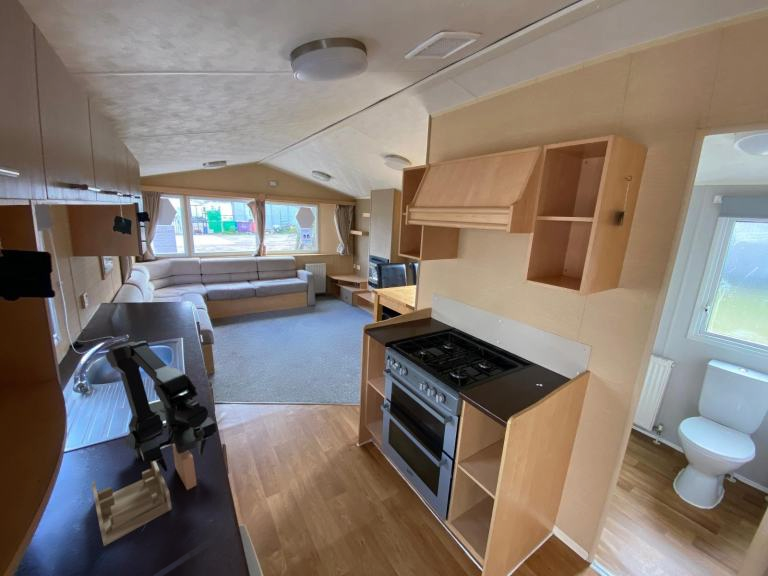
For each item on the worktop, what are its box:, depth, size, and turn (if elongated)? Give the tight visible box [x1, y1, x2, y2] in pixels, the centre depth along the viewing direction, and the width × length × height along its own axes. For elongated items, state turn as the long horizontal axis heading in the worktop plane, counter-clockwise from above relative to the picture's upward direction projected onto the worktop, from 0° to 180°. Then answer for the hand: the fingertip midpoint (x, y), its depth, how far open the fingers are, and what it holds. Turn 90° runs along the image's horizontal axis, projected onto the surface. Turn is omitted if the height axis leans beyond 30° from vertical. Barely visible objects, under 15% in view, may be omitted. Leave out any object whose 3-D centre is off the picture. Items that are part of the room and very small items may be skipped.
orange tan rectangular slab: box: [171, 444, 197, 491], centre depth 96 cm, size 2×12×10 cm, turn 46°
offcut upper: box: [110, 488, 153, 525], centre depth 82 cm, size 4×8×2 cm, turn 136°
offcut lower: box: [109, 493, 160, 531], centre depth 83 cm, size 4×10×2 cm, turn 136°
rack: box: [91, 461, 173, 547], centre depth 86 cm, size 18×14×7 cm
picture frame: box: [148, 391, 188, 428], centre depth 131 cm, size 16×3×21 cm
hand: (183, 462), depth 96 cm, fingers open, 9 cm apart
